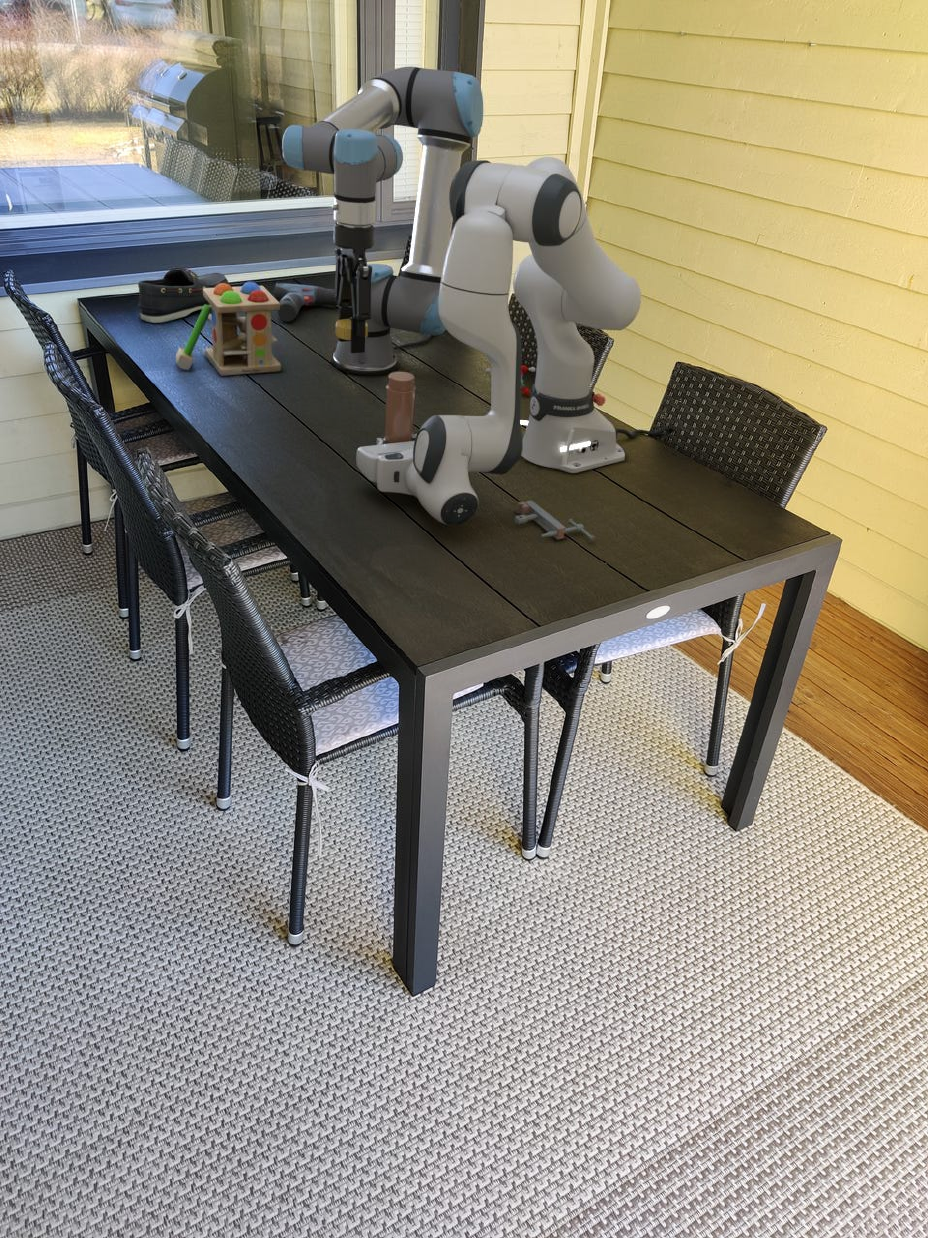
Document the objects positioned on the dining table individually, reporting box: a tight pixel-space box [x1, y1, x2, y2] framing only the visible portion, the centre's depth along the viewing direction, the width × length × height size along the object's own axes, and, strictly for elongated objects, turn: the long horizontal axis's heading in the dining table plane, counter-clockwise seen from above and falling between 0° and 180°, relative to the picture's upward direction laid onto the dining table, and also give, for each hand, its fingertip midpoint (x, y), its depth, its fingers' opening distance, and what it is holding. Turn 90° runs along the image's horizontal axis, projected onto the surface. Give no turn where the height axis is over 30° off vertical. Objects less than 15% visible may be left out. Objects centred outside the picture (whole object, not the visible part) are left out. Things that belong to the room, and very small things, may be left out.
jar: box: [383, 371, 417, 444], centre depth 185 cm, size 5×5×20 cm
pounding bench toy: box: [174, 281, 282, 377], centre depth 225 cm, size 23×14×18 cm, turn 116°
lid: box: [334, 319, 368, 340], centre depth 192 cm, size 6×6×2 cm
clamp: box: [514, 500, 596, 542], centre depth 176 cm, size 15×2×10 cm
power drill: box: [274, 282, 338, 322], centre depth 265 cm, size 5×19×20 cm
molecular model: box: [485, 365, 536, 397], centre depth 227 cm, size 12×10×10 cm
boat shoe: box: [137, 266, 230, 324], centre depth 260 cm, size 13×33×10 cm, turn 147°
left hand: (351, 346), depth 194 cm, fingers closed on lid, 6 cm apart
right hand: (396, 439), depth 188 cm, fingers closed on jar, 5 cm apart
